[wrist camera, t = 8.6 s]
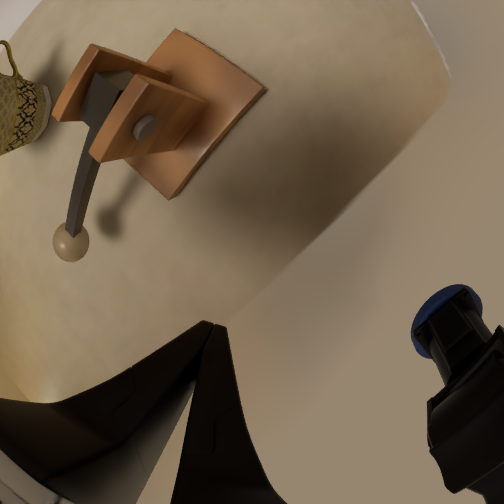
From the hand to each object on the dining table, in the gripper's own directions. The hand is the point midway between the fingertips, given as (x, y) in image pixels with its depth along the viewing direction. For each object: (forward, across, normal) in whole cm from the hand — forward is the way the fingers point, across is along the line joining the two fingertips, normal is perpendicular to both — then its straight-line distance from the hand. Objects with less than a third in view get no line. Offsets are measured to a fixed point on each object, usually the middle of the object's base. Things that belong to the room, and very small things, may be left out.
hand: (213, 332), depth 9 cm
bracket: (+13, +8, -7) cm, 17 cm away
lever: (+9, +11, -2) cm, 14 cm away
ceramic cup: (+14, +27, -8) cm, 31 cm away
